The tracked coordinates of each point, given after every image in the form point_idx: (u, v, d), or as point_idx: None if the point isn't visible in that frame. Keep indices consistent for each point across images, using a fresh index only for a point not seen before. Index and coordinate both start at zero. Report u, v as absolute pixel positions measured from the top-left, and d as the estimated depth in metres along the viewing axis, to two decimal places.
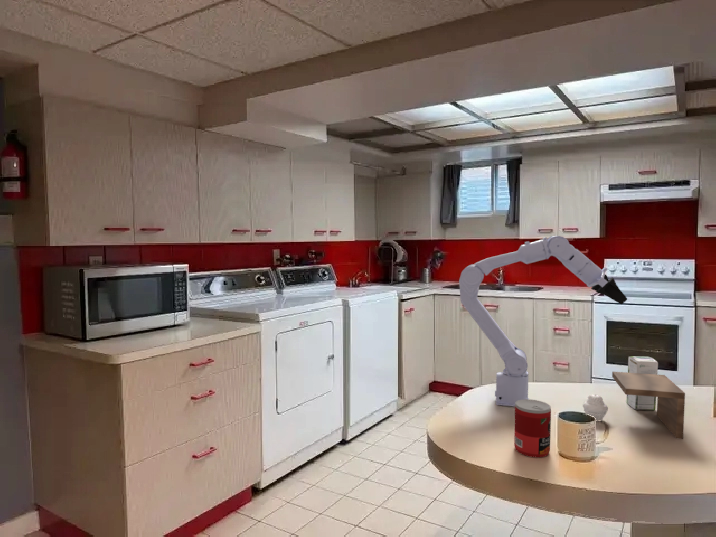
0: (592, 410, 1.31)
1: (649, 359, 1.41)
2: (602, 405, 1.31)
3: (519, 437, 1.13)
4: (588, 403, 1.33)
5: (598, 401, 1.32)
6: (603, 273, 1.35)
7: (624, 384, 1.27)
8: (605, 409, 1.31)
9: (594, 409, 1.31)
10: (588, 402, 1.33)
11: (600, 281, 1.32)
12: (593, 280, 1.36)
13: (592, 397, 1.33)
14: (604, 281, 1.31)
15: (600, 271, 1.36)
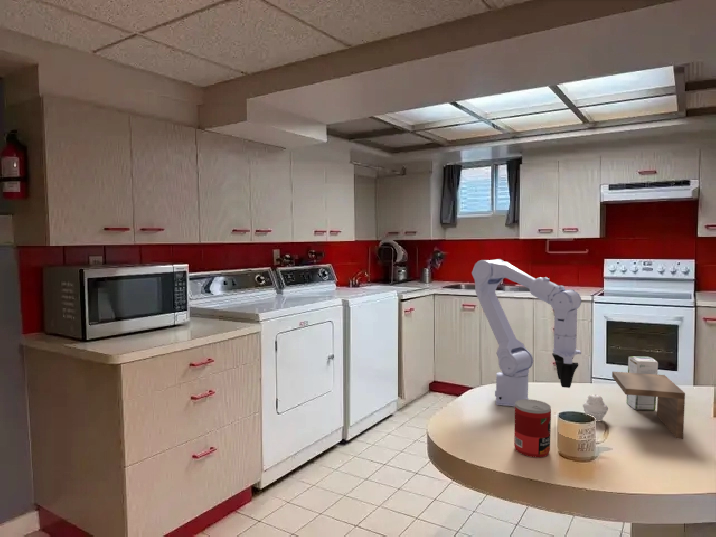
0: (592, 410, 1.31)
1: (649, 359, 1.41)
2: (602, 405, 1.31)
3: (519, 437, 1.13)
4: (588, 403, 1.33)
5: (598, 401, 1.32)
6: (575, 354, 1.31)
7: (624, 384, 1.27)
8: (605, 409, 1.31)
9: (594, 409, 1.31)
10: (588, 402, 1.33)
11: (567, 358, 1.28)
12: (562, 351, 1.32)
13: (592, 397, 1.33)
14: (570, 361, 1.28)
15: (574, 350, 1.32)
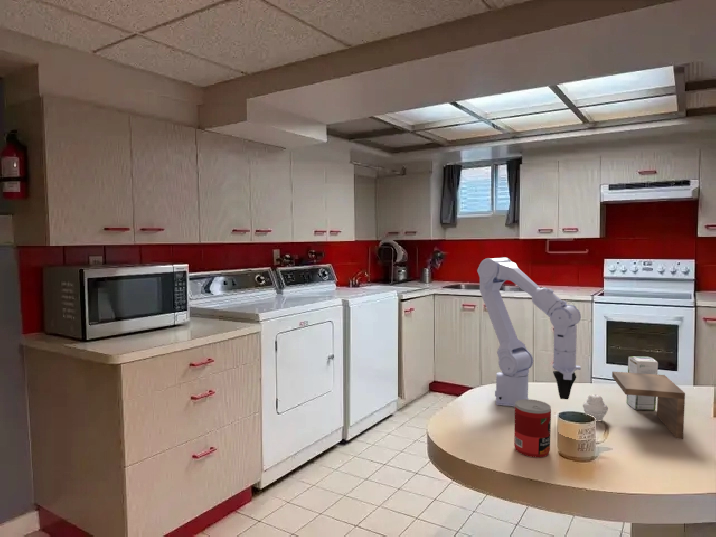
0: (592, 410, 1.31)
1: (649, 359, 1.41)
2: (602, 405, 1.31)
3: (519, 437, 1.13)
4: (588, 403, 1.33)
5: (598, 401, 1.32)
6: (574, 370, 1.32)
7: (624, 384, 1.27)
8: (605, 409, 1.31)
9: (594, 409, 1.31)
10: (588, 402, 1.33)
11: (567, 374, 1.28)
12: (562, 367, 1.33)
13: (592, 397, 1.33)
14: (569, 377, 1.28)
15: (574, 366, 1.33)
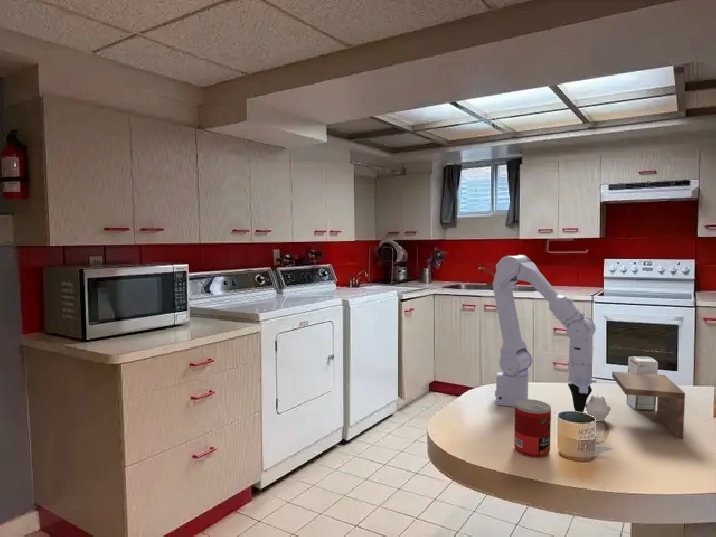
0: (594, 410, 1.31)
1: (649, 359, 1.41)
2: (604, 405, 1.31)
3: (519, 437, 1.13)
4: (590, 403, 1.33)
5: (600, 401, 1.31)
6: (590, 382, 1.31)
7: (624, 384, 1.27)
8: (607, 409, 1.31)
9: (596, 409, 1.31)
10: (591, 402, 1.33)
11: (583, 387, 1.27)
12: (577, 380, 1.32)
13: (594, 397, 1.32)
14: (586, 390, 1.27)
15: (589, 379, 1.32)
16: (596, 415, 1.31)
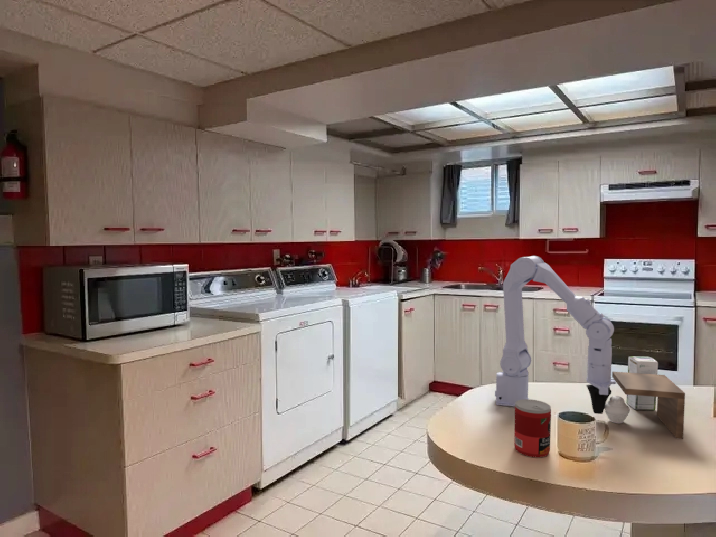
0: (615, 412, 1.30)
1: (649, 359, 1.41)
2: (624, 407, 1.30)
3: (519, 437, 1.13)
4: (610, 405, 1.31)
5: (620, 403, 1.30)
6: (610, 384, 1.29)
7: (624, 384, 1.27)
8: (627, 411, 1.30)
9: (617, 411, 1.29)
10: (610, 404, 1.31)
11: (603, 389, 1.26)
12: (597, 381, 1.30)
13: (614, 399, 1.31)
14: (606, 392, 1.26)
15: (609, 380, 1.30)
16: (616, 417, 1.30)
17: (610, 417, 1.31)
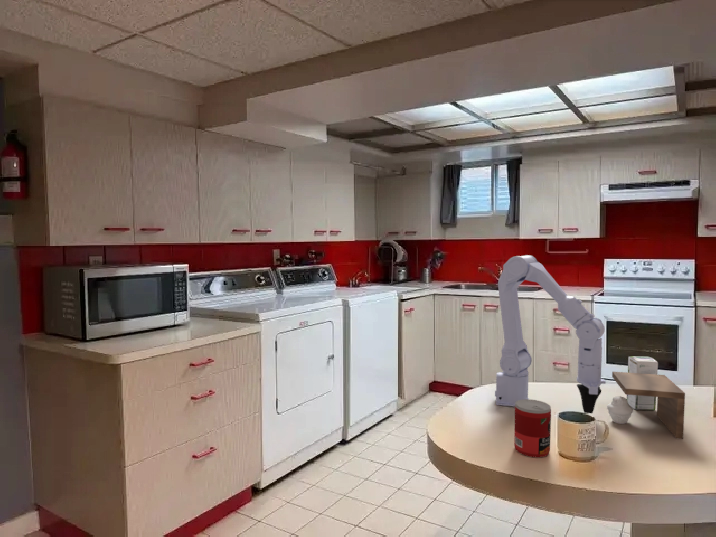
0: (618, 412, 1.29)
1: (649, 359, 1.41)
2: (627, 407, 1.30)
3: (519, 437, 1.13)
4: (613, 405, 1.31)
5: (623, 403, 1.30)
6: (599, 384, 1.30)
7: (624, 384, 1.27)
8: (631, 411, 1.29)
9: (620, 411, 1.29)
10: (613, 404, 1.31)
11: (593, 388, 1.27)
12: (587, 381, 1.31)
13: (617, 399, 1.31)
14: (595, 391, 1.26)
15: (599, 380, 1.31)
16: (619, 417, 1.30)
17: (613, 417, 1.31)
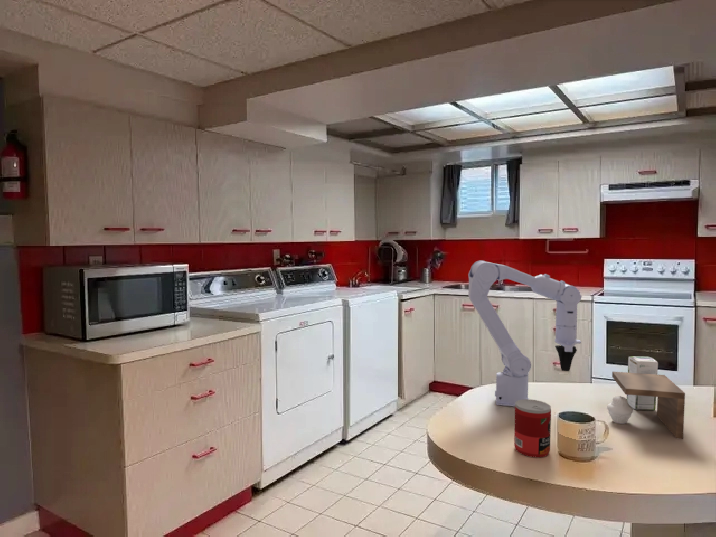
0: (618, 412, 1.29)
1: (649, 359, 1.41)
2: (627, 407, 1.30)
3: (519, 437, 1.13)
4: (613, 405, 1.31)
5: (623, 403, 1.30)
6: (575, 343, 1.42)
7: (624, 384, 1.27)
8: (631, 411, 1.29)
9: (620, 411, 1.29)
10: (613, 404, 1.31)
11: (568, 346, 1.38)
12: (563, 341, 1.43)
13: (617, 399, 1.31)
14: (570, 349, 1.38)
15: (574, 340, 1.43)
16: (619, 417, 1.30)
17: (613, 417, 1.31)
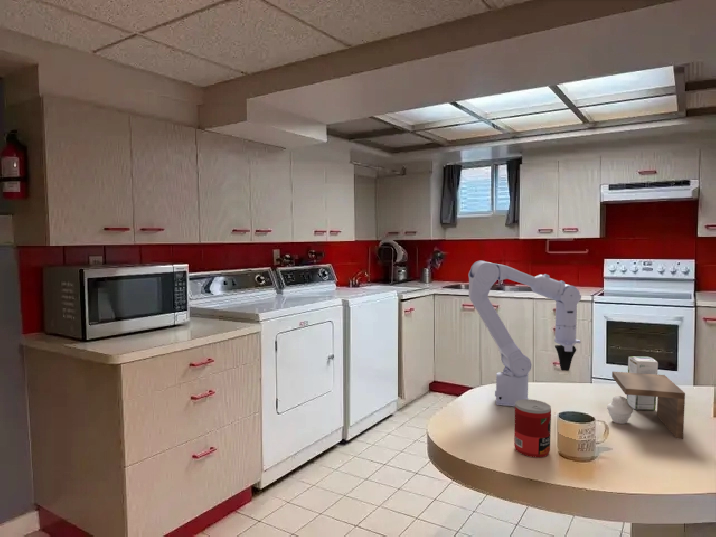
0: (618, 412, 1.29)
1: (649, 359, 1.41)
2: (627, 407, 1.30)
3: (519, 437, 1.13)
4: (613, 405, 1.31)
5: (623, 403, 1.30)
6: (574, 343, 1.42)
7: (624, 384, 1.27)
8: (631, 411, 1.29)
9: (620, 411, 1.29)
10: (613, 404, 1.31)
11: (568, 346, 1.39)
12: (563, 340, 1.43)
13: (617, 399, 1.31)
14: (570, 349, 1.39)
15: (574, 339, 1.43)
16: (619, 417, 1.30)
17: (613, 417, 1.31)
